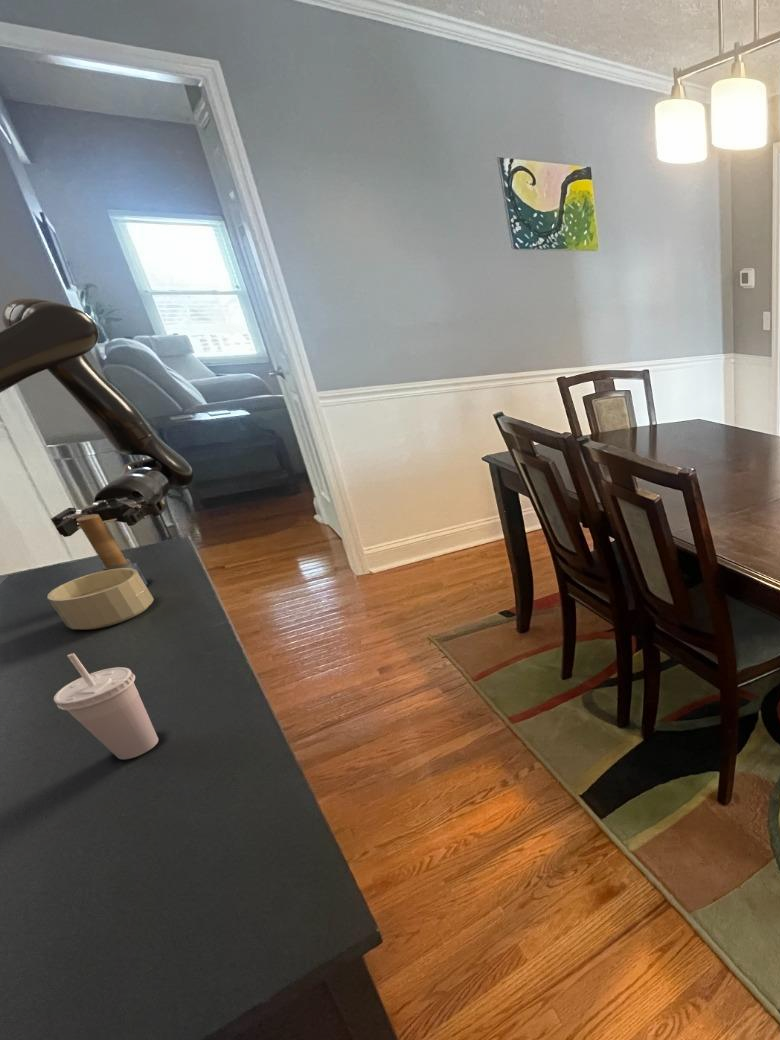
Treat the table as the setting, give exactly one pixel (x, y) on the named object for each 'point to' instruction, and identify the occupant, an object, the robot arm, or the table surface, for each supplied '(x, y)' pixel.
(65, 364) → the robot arm
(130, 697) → the smoothie
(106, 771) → the table surface
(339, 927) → the table surface
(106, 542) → the brush
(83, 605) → the bowl
